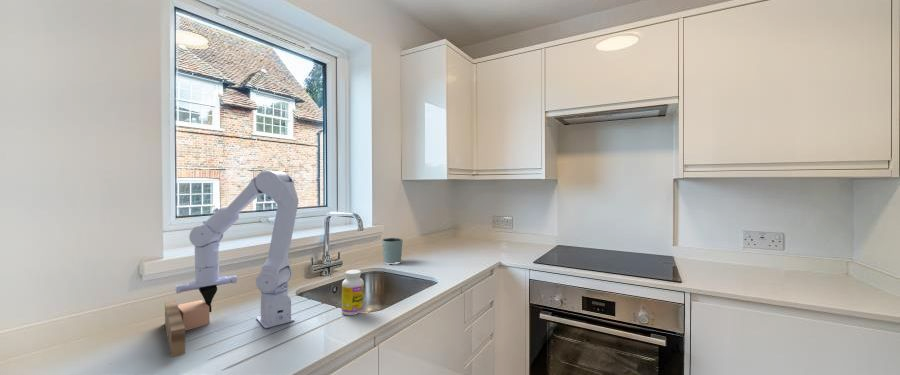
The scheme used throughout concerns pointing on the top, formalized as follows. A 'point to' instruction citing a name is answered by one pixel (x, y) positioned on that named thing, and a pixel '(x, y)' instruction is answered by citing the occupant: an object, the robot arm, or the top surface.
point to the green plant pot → (392, 249)
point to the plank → (174, 329)
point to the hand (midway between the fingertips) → (207, 311)
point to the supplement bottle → (352, 293)
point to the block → (194, 314)
